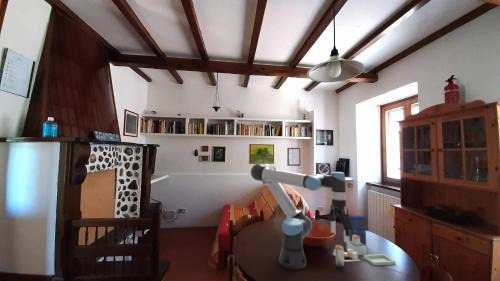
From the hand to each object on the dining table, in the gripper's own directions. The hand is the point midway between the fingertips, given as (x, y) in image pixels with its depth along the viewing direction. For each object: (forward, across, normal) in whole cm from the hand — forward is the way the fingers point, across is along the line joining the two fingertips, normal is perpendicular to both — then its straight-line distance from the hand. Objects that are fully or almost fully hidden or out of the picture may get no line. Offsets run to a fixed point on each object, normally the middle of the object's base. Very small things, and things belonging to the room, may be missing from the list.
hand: (339, 236), depth 117 cm
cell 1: (+16, 0, 0) cm, 16 cm away
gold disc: (+14, +7, -8) cm, 18 cm away
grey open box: (+16, +13, -19) cm, 28 cm away
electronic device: (+16, +23, -27) cm, 39 cm away
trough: (+16, +1, -25) cm, 29 cm away
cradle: (+16, +7, -8) cm, 19 cm away
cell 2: (+15, +13, -19) cm, 27 cm away
